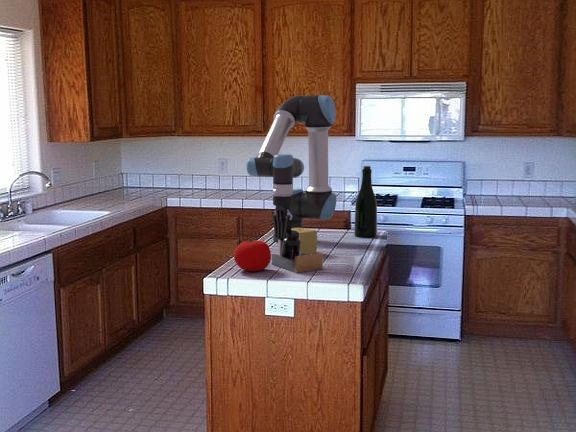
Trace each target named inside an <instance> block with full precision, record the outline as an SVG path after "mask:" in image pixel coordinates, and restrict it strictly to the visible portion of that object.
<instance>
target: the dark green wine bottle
mask: <svg viewBox="0 0 576 432" xmlns="http://www.w3.org/2000/svg"><path fill="white" fill-rule="evenodd" d="M371 167H372V166H370V165H364V166H363V168H362V171H361V173H362V174H361V175H362V177H361V185H360V188H359V191H358V194H357V195H356V199H355V207H354V209H355V210H354V228H353V229H354V230H353V231H354V236H355V237H358V238H365V239H367V238H375V237H377V233H378V227H377V226H378V204H377V203H378V202H377V197H376V195H375V192H374V188H373V184H372V170H373V169H372V168H371Z"/></svg>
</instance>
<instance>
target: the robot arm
mask: <svg viewBox="0 0 576 432" xmlns="http://www.w3.org/2000/svg"><path fill="white" fill-rule="evenodd" d="M336 116H337V110H336V105H335V101H334V99H333V98H332V96H330V95H324V94H318V95H317V94H316V95H315V94H313V95H301V94H299V95H294V96H291V97H290V98H288V99H286V100H285V101H284V102H282V103H281V104H280V105H279V106H278V107H277V108H276V110H275V112H274V114H273V118H272V119H273V121H272V124H271V126H270V127H269V130H268V132H267V135H266V137H265V139H264V141H263V142H262V144H261V146H260V149H259V151H258V153H257V155H256V156H254V157H249V158H248V159H247V161H246V171H247V175H248V176H251V177H258V178H261V177H263V178H264V177H265V178H273V183H272V186H273V187H272V189H273V191H272V192H273V193H272V195H273V196H272V205H273V206H275V208H274V211H271V216H272V222H273V223H272V224H273V233H272V241H273V242H276V243H277V248H278V249H277V251H278V252H277V255H280V256H281V251H282V243H283V239H284V238H285V237H286V233H287V231H289V230H291V229H292V228H304V225H303V219H310V220H313V219H315V220H329V219H331V218H333V215H334V213H335V211H336V205H337V194H336V193H334V192H333V189H332V187H331V186H330V185H329V130H330V129H331V128H332V124H334V123H335V122H336ZM298 123H302V124H304V129H306V131H307V138H308V142H307V144H308V186H307V187H306V188H305V191H304V190H303V188H294V183H293V182H294V178H295V179H296V178H298V177H300V176H301V175H302V174H303V173H304V170H305V165H304V162H303V161H302V160H301V159H299V158H296V157H294V156H293V155H292V154H289V153H287V154H286V153H285V154H284V153H282V154H281V153H280V150H281V149H282V147H283V144H284V142H285V141H286V138H287V136H288V134H289V131H290V129H291V128H293V127H294V126H295V124H298ZM304 229H305V228H304Z"/></svg>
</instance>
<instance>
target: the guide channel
mask: <svg viewBox="0 0 576 432" xmlns="http://www.w3.org/2000/svg"><path fill="white" fill-rule="evenodd" d="M323 255H324V254H323V253H322V252H318V253H317V252H316V253H314V254H309V255H308V254H305V253H302V252H299V256H295V260H292V259H289V258H286V257H283V256H280V255H278V253H277V254H276V253H271V265H272V266H275V267H277V268H281V269H284V270H285V271H289V272H291V273H294V274H301V273H308V272H315V271H316V272H317V271H322V270H323V263H324V262H323V261H324V260H323V257H324V256H323Z"/></svg>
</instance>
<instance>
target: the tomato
mask: <svg viewBox="0 0 576 432" xmlns="http://www.w3.org/2000/svg"><path fill="white" fill-rule="evenodd" d="M233 258H234V262H235V263H236V265H237V266H238V268H240V269H241V270H245V271H247V272H259V271H263V270H265V269H266V268H268V266H269V265H270V264H271V262H272V252H271V249H270V246H269V245H268V244H267V243H266V242H265V241H263V240H259V239H251V238H250V239H247V240H245V241H244V240H243V241H240V244H238V245H237V246H236V247H235V250H234V252H233Z"/></svg>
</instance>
